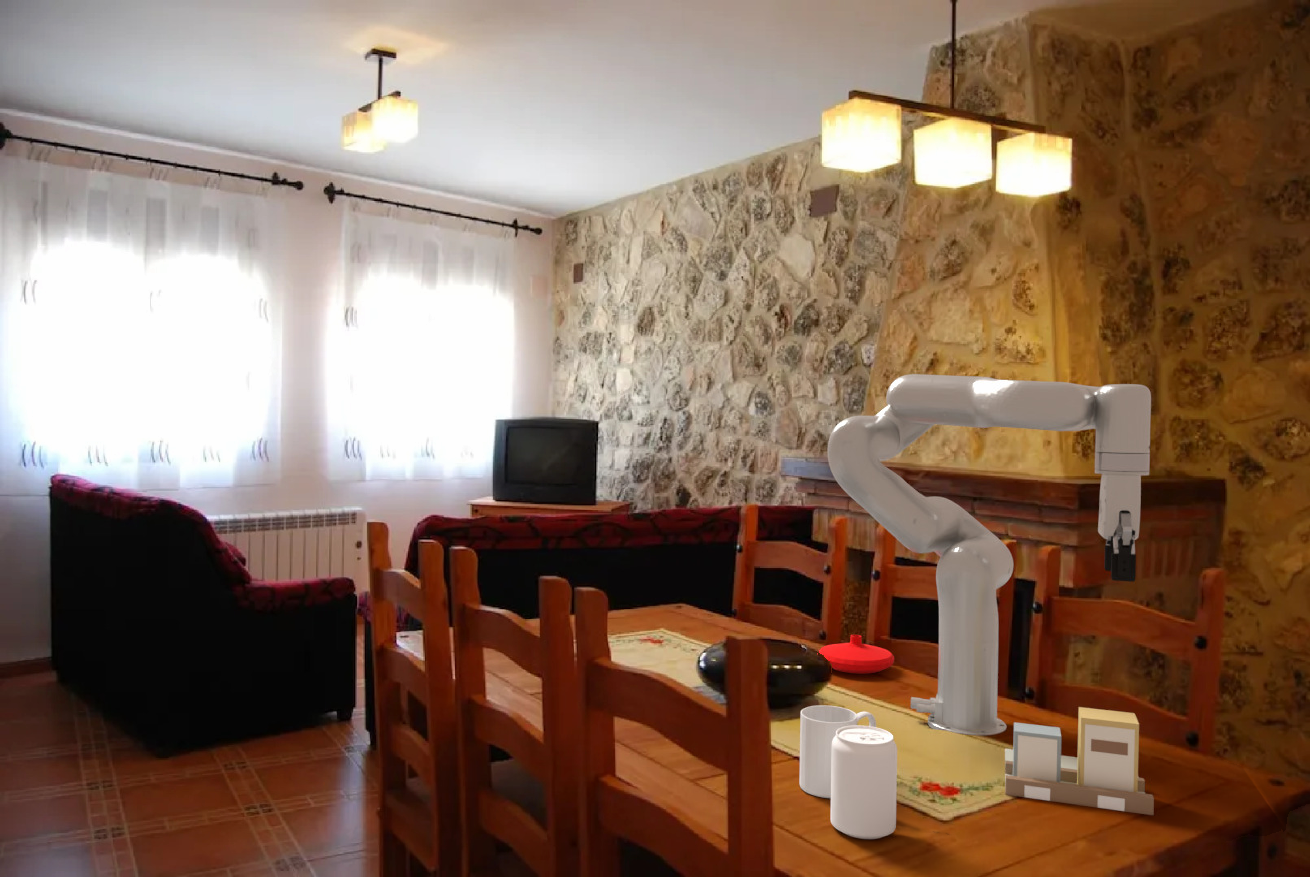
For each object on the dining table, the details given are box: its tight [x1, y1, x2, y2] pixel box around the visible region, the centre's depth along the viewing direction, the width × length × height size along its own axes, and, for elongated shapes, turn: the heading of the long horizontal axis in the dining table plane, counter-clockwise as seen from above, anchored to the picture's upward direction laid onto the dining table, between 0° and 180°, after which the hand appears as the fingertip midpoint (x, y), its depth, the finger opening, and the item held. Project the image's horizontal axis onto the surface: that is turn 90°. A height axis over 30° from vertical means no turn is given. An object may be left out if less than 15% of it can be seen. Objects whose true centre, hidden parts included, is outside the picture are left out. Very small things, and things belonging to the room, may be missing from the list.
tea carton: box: [1077, 706, 1140, 793], centre depth 128 cm, size 7×5×11 cm
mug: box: [798, 704, 877, 799], centre depth 133 cm, size 12×8×10 cm, turn 118°
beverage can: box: [830, 724, 898, 840], centre depth 119 cm, size 8×8×12 cm
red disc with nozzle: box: [818, 634, 895, 675], centre depth 196 cm, size 16×16×7 cm
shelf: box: [1004, 748, 1155, 816], centre depth 134 cm, size 18×19×3 cm
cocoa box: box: [1012, 721, 1062, 782], centre depth 131 cm, size 6×4×8 cm
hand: (1119, 575), depth 145 cm, fingers open, 9 cm apart
